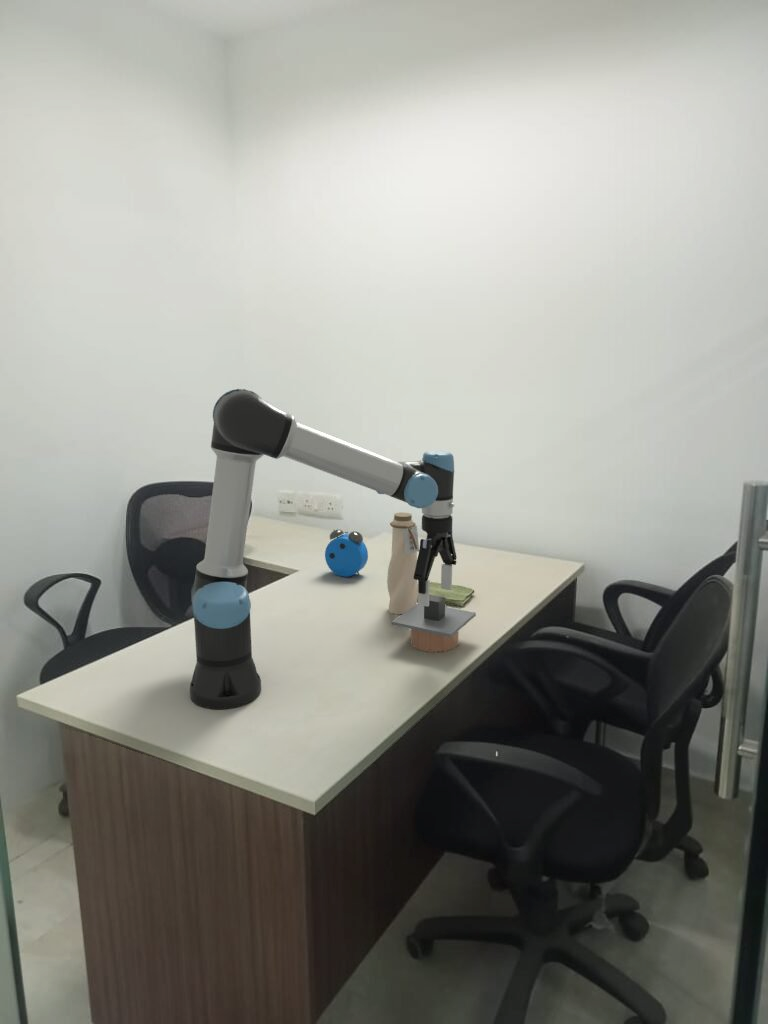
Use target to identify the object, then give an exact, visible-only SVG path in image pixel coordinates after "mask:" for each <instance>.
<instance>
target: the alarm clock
mask: <svg viewBox="0 0 768 1024" xmlns="http://www.w3.org/2000/svg"><path fill="white" fill-rule="evenodd" d="M344 533H345V534H344ZM329 539H330V542H329V543H328V544H327V545H326V548H325V551H324V559H325V564H326V565H327V566H328V569H330V570H331V572H333V573H334V574H335V575H337V576H339V577H343V578H346V577H347V578H348V577H352V576H354V575H355V574H357V575H360V571H361V570H362V569H364V568H365V566H366V565H367V562H368V558H369V552H368V548H367V546H366V543H365V542H364V537H363V535H362V534H361V533H360V532H358V531H355V530H354V531H351V532H348V531H343V530H342V529H333V531H332V532H330V534H329Z"/></svg>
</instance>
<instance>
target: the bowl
mask: <svg viewBox="0 0 768 1024" xmlns="http://www.w3.org/2000/svg"><path fill="white" fill-rule="evenodd" d="M410 644H411V646H412V647H414V646H415V647H414V648H416V649H418V650H419V651H425V652H428V651H429V652H428V653H443V652H442V651H444V652H447V651H446V650H448V651H451V650H450V649H452V650H454V649H455V648H456V647H457V646H458V645H459V631H458V632H456V633H455V634H454V635H453V636H452V637H447V636H442V635H438V634H433V633H428V632H424V631H419V630H414V629H410ZM453 648H454V649H453ZM433 651H434V652H433ZM438 651H439V652H438Z"/></svg>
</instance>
